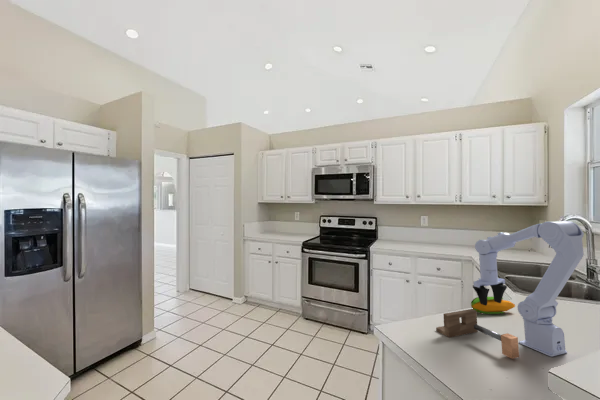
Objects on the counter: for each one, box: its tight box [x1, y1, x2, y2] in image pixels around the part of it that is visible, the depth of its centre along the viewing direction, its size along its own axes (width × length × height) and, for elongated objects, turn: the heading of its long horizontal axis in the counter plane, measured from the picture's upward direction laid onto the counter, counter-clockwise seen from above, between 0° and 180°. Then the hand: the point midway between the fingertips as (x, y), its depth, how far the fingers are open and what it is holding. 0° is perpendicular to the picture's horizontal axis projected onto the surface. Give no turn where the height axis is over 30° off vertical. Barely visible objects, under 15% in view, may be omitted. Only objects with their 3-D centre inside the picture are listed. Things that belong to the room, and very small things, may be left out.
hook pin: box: [474, 323, 520, 360], centre depth 86 cm, size 13×3×6 cm, turn 16°
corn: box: [470, 296, 516, 315], centre depth 117 cm, size 7×8×20 cm
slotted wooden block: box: [435, 308, 479, 339], centre depth 100 cm, size 6×14×8 cm, turn 106°
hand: (490, 303), depth 103 cm, fingers open, 7 cm apart
